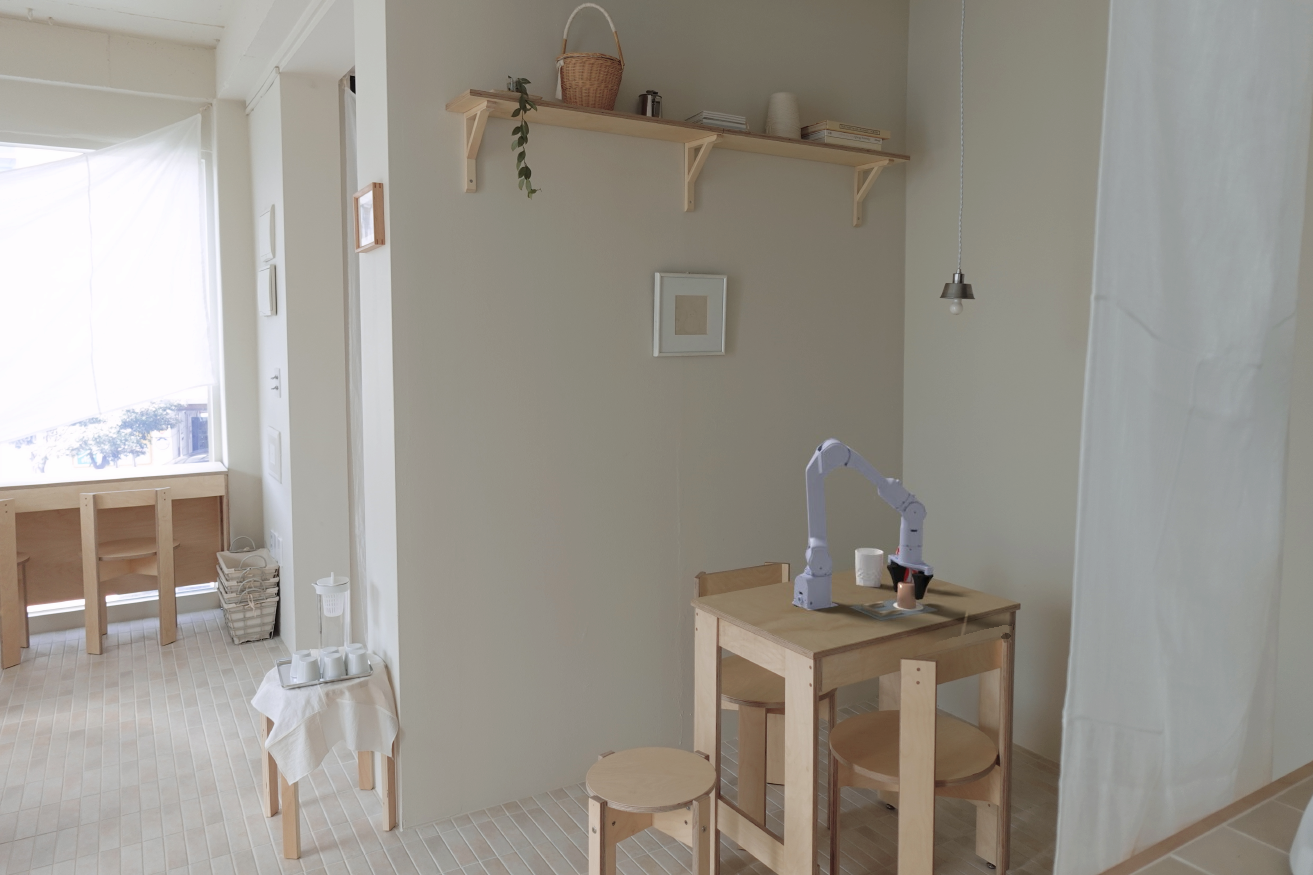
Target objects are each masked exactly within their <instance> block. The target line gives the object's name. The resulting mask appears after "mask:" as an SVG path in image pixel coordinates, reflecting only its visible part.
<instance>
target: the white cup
mask: <svg viewBox="0 0 1313 875" xmlns="http://www.w3.org/2000/svg"><path fill="white" fill-rule="evenodd" d="M854 552H855V553H854V554H855V555H854V556H855V557H854V558H855V562H854V564H855V568H854V569H855V577H856V580H855V584H856V585H857V586H862V587H871V588H874V587H875V588H880V587H881V582H882V581H881V578H882V575H883V564H884V555H885V554H884V551H883V550H881V549H878V548H874V547H873V548H872V547H861V548H860V547H859V548H856V549H855V551H854Z"/></svg>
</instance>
